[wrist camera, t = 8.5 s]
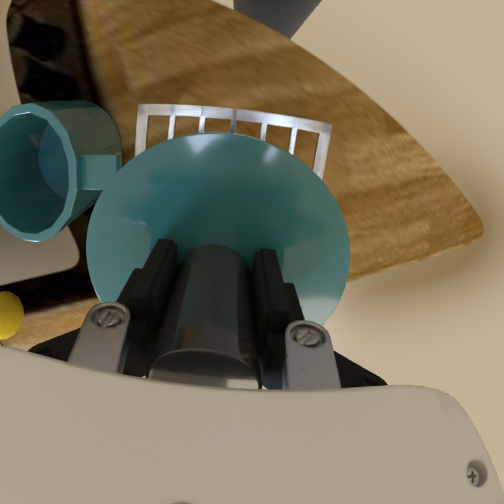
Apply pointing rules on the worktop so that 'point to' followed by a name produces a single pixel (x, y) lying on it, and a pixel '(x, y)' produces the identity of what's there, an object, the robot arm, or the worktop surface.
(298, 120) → the rack
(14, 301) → the lemon
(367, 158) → the worktop surface
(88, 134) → the pot
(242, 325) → the lid
